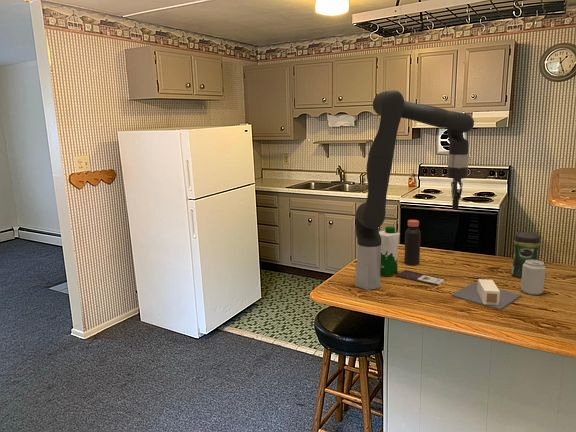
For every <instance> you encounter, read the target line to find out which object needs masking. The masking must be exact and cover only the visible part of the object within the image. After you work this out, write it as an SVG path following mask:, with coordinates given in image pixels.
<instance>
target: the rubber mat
mask: <svg viewBox="0 0 576 432" xmlns="http://www.w3.org/2000/svg"><path fill="white" fill-rule="evenodd" d="M477 285H478V282H472V283H470V284H468V285H467V286H464V287H463V288H461V289H458V290H457V291H455V292H453V293H451V294H450V297H453V298H457V299H460V300H463V301H466V302H470V303H474V304H477V305H481V306H484V307H488V308H491V309H494V310H498V311H502V310H503V309H505V308H506V307H508V306H509V305H510V304H513V303H514V302H515V301H517V300H518V299H519V298H521V297H522V294H521V293H517V292H511V291H507V290H504V289H500V288H498V289H499V291H500V298H499V305H489V304H483V302H482V300H481V298H480V296H479V295H478V293H477Z"/></svg>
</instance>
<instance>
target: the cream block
mask: <svg viewBox="0 0 576 432" xmlns="http://www.w3.org/2000/svg"><path fill="white" fill-rule="evenodd" d="M495 283H496V282H494V280H493V279H486V278H485V279H484V278H478V279H477V284H478V285H477V293H478V295H479V296H480V298H481V300H482V302H483V304H489V305H499V298H500V291H499V289H500V288H498V286H497V285H496V284H495Z"/></svg>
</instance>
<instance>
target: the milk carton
mask: <svg viewBox="0 0 576 432" xmlns="http://www.w3.org/2000/svg"><path fill="white" fill-rule="evenodd" d="M379 234H380V236H381V277H386V278H390V277H391V276H395V275H397V274H399V273H398V253H399V239H400V235H401V233H400V232H397V231H396V227H394V226H386V227H385V230H381V231H379Z"/></svg>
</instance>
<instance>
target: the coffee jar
mask: <svg viewBox="0 0 576 432" xmlns="http://www.w3.org/2000/svg"><path fill="white" fill-rule="evenodd" d="M540 237H541V236H540V234H539V233H538V232H537V233H536V232H528V231H516V233H515V235H514V239H513V245H514V255H513V259H512V266H511V275H512V276H514V277H517V278H521V279H522V268H523V264H524V263H525V261H526V260H538V252H539V251H538V250H539V247H540V246H541V238H540Z"/></svg>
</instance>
